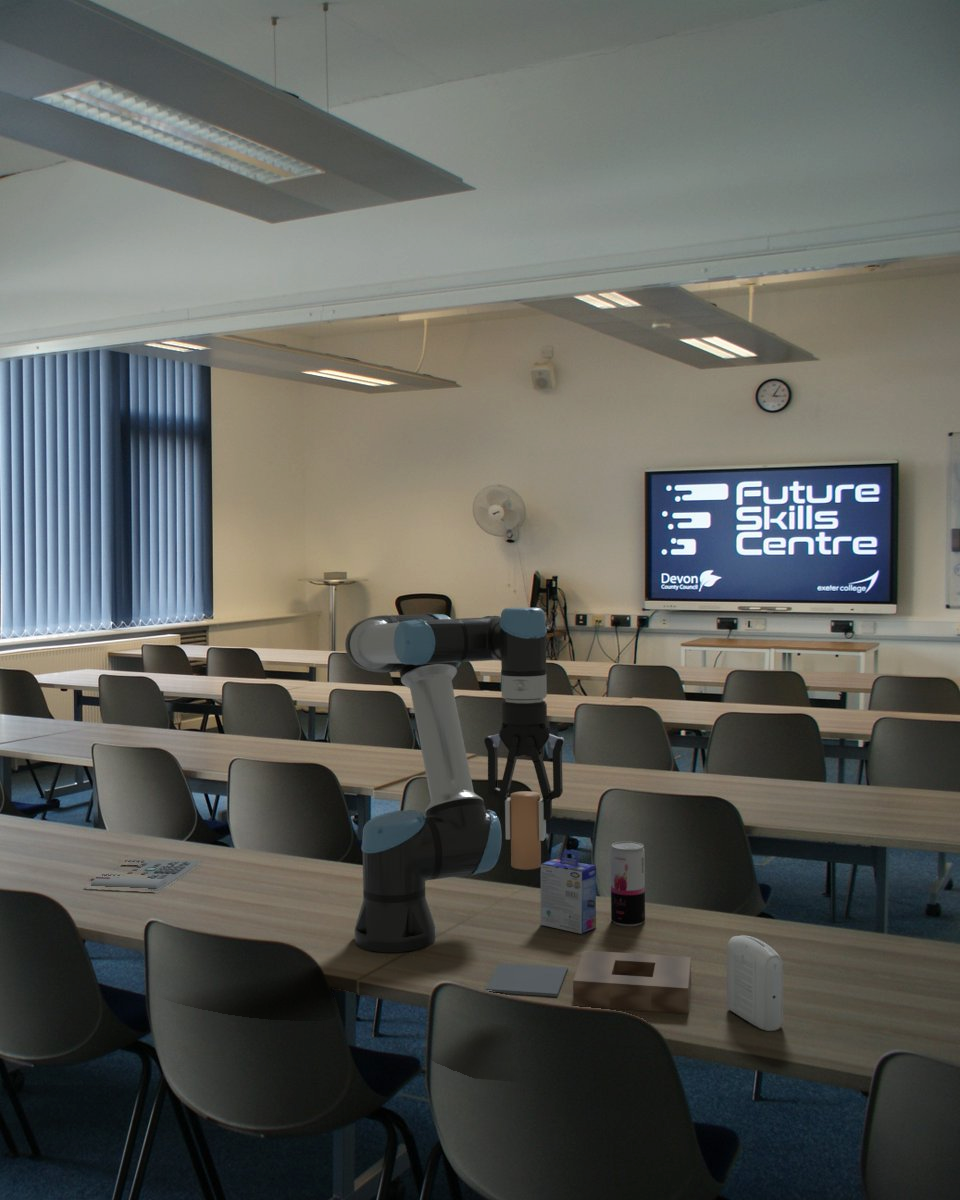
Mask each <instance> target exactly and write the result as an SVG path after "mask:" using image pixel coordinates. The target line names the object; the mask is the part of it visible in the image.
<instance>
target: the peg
mask: <svg viewBox="0 0 960 1200" xmlns="http://www.w3.org/2000/svg"><path fill="white" fill-rule="evenodd" d="M509 794H510V795H509V796H510V804H511V839H510V858H511V859H510V861H511V862H510V866H511V867H512V868H514V869H516V870H517V869H518V870H536V869H539V868H541V864H542V846H541V845H542V841H539V801H540V799H541V792H537V791H531V790H530V791H525V790H524V791H523V790H522V791H515V792H512V793H509Z"/></svg>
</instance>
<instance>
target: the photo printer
mask: <svg viewBox="0 0 960 1200" xmlns="http://www.w3.org/2000/svg"><path fill="white" fill-rule="evenodd" d="M726 1006H727V1009H728V1010H730V1011H731V1012H732V1013H734V1014H736V1016H739V1017H740V1018H742V1019H743V1020H745V1021H746V1022H748V1023H750V1024H751V1025H753V1026H755V1027H756V1028H758V1029H761V1030H764V1031H766V1032H774V1031H777V1030H779V1029H780V1028H781V1027H782V1025H783V1019H784V962H783V960H782V958H781V956H780V955H779V954H778V952H777V951H776V950H775V949H774V948H772V947H771V946H770V945H769V944H767V943H765V942H764V941H762V940H761V939H759V938H756V937H753V936H749V935H745V934H744V935H735V936H732V937H731V938H730V939H729V940H728V943H727V947H726Z"/></svg>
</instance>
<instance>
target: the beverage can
mask: <svg viewBox="0 0 960 1200" xmlns="http://www.w3.org/2000/svg"><path fill="white" fill-rule="evenodd" d="M645 860H646V858H645V848H644V844H643V843H642V842H641V843H640V842H635V841H628V840H627V841H618V842H614V843H612V844H611V847H610V908H611V911H610V914H611V917H610V919H611V921H612V922H613V923H614V924H615V925H617V926H620V927H621V926H622V927H636V926H640V925H642V924H644V922H645V921H646V883H645V881H646V879H645V878H646V877H645V876H646V873H645V871H646V870H645V868H646V866H645V865H646V863H645V862H646V861H645Z"/></svg>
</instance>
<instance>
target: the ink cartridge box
mask: <svg viewBox="0 0 960 1200" xmlns="http://www.w3.org/2000/svg"><path fill="white" fill-rule="evenodd" d="M580 854H581V852H580V851H576V850H572V849H564V850H563V852H562V856H561V858H560V859H558V858H557V859H556V858H554V859H551V860H547V861H545V862H541V866H540V907H539V908H540V913H539V914H540V915H539V916H540V917H539V919H540V920H539V921H540V923H539V925H540V926H544V927H550V928H554V929H558V930H562V931H567V932H570V933H575V934H580V935H582V934H584V933H588V932H589V931H591V930H595V929H596V928H597V896H596V895H597V873H596V872H597V866H596V865H594V864H588V863H582V862H581V863H580V862H579V858H580ZM566 855H573V856H574V857H575V858H571V857H566Z"/></svg>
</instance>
